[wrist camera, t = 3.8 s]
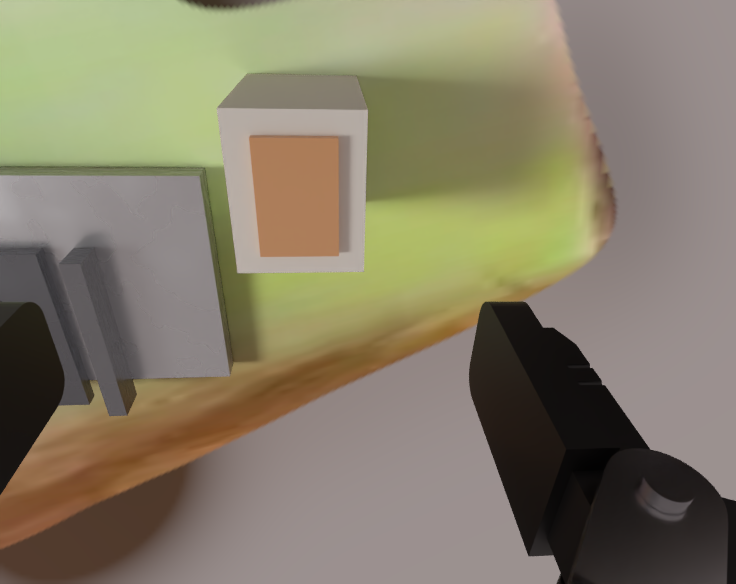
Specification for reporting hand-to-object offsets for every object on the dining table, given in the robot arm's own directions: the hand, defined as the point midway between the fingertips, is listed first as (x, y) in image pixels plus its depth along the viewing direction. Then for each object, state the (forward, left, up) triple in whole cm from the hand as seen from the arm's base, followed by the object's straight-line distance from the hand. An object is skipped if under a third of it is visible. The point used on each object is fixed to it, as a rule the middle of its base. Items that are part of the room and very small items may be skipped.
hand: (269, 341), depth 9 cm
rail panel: (+6, -11, -12) cm, 17 cm away
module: (0, 0, -12) cm, 12 cm away
